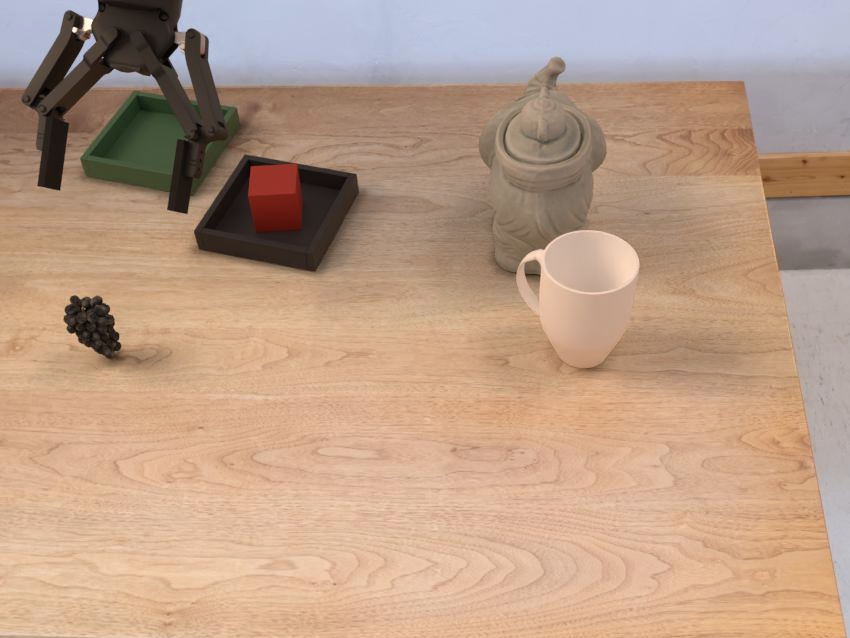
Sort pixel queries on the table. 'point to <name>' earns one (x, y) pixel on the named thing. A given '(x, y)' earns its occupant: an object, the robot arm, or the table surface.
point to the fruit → (92, 324)
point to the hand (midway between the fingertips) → (112, 200)
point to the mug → (583, 293)
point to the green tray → (148, 143)
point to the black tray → (302, 249)
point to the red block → (275, 197)
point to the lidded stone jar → (539, 168)
